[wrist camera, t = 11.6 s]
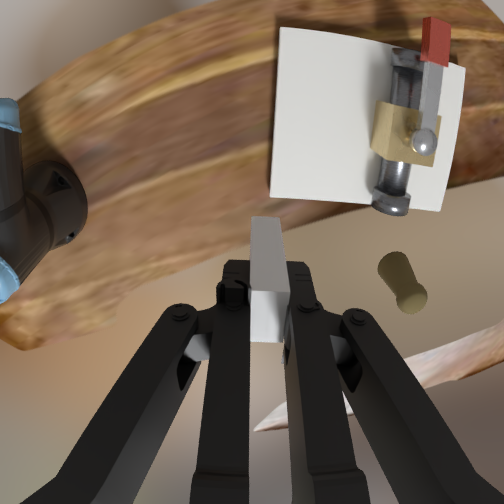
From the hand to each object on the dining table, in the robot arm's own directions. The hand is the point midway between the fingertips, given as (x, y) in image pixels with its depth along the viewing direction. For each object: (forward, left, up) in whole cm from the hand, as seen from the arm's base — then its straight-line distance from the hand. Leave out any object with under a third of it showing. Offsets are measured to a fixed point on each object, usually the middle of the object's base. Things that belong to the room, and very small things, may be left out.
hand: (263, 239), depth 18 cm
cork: (+25, -20, -30) cm, 44 cm away
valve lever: (+19, +11, -20) cm, 30 cm away
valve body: (+19, +4, -27) cm, 34 cm away
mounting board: (+16, +4, -29) cm, 34 cm away
